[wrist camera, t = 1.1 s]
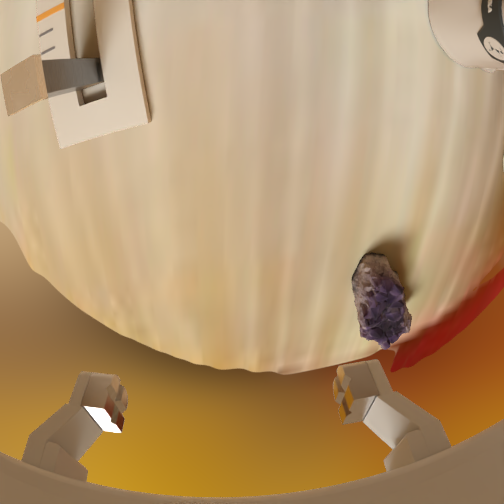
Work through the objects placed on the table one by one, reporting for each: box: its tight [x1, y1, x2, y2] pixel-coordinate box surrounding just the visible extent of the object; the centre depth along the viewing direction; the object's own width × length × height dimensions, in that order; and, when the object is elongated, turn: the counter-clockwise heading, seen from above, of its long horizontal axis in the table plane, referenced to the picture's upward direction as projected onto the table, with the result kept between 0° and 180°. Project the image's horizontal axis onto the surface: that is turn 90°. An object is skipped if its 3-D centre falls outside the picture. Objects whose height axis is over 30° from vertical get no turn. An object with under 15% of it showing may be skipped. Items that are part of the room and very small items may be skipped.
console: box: [36, 0, 151, 149], centre depth 27 cm, size 28×14×2 cm, turn 6°
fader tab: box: [1, 54, 104, 116], centre depth 24 cm, size 4×4×16 cm
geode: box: [352, 252, 412, 349], centre depth 51 cm, size 20×12×10 cm, turn 26°
